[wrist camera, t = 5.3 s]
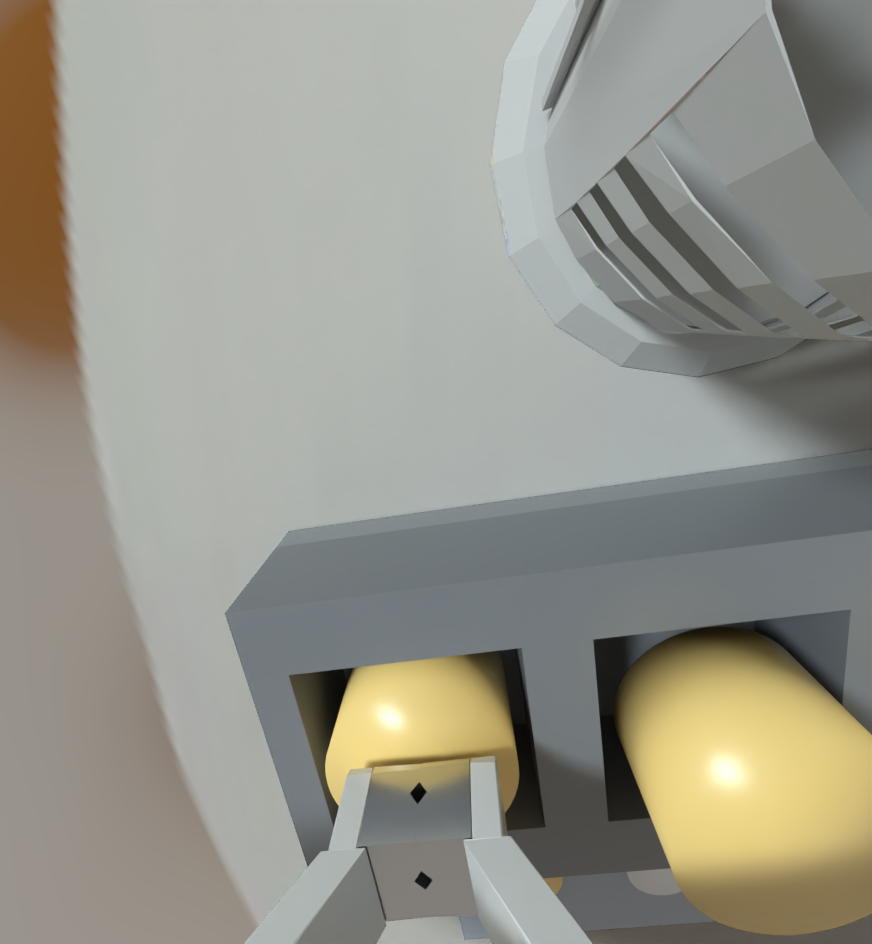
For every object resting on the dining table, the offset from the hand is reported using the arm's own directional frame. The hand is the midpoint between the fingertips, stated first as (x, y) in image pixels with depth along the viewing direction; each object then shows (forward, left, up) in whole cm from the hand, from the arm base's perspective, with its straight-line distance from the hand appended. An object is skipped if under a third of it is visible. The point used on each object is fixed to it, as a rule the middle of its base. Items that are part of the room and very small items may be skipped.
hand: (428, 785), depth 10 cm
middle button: (0, -6, -1) cm, 6 cm away
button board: (-4, -6, -5) cm, 9 cm away
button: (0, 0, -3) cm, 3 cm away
